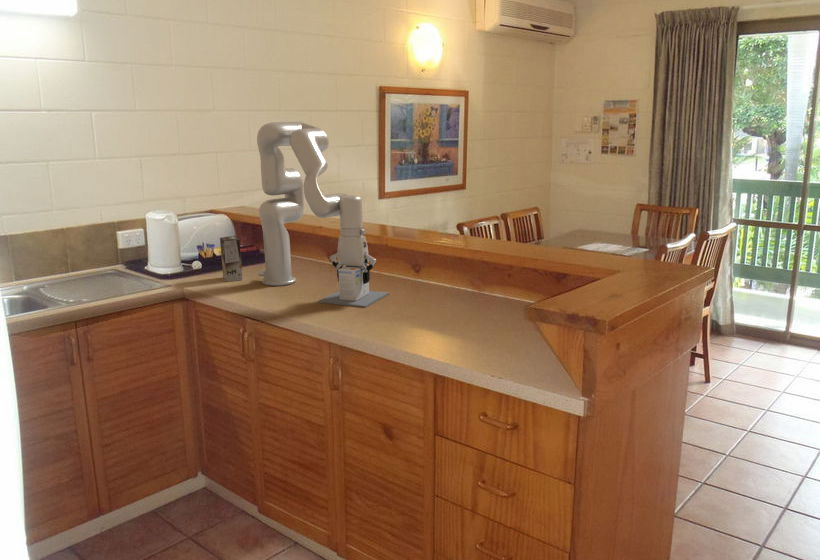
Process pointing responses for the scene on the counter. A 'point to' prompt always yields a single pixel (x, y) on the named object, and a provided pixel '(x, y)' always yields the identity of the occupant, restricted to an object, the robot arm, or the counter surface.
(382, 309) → the counter surface
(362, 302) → the mat
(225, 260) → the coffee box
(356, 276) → the light bulb box
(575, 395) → the counter surface
